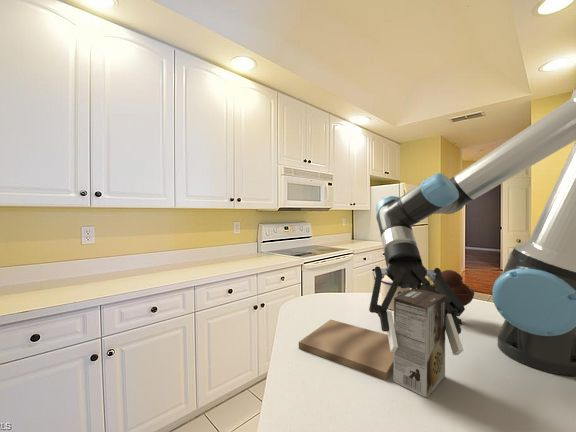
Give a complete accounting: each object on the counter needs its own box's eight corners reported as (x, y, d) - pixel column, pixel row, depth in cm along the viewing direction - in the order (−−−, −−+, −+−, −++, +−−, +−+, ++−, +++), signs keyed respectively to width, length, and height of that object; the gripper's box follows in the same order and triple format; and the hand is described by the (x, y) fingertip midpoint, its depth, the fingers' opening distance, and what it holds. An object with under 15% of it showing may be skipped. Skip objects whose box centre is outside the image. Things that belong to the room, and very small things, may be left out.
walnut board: (406, 346, 65) (406, 339, 65) (386, 380, 52) (386, 372, 52) (330, 324, 76) (330, 319, 76) (298, 348, 64) (298, 341, 63)
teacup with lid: (397, 313, 85) (397, 276, 84) (374, 304, 93) (374, 270, 92) (420, 306, 91) (421, 271, 91) (397, 298, 99) (397, 266, 98)
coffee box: (412, 363, 57) (413, 287, 57) (446, 377, 53) (447, 294, 52) (391, 381, 51) (392, 296, 51) (427, 399, 47) (429, 305, 46)
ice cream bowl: (481, 330, 73) (482, 275, 72) (436, 327, 75) (437, 272, 75) (464, 315, 83) (465, 266, 83) (424, 312, 85) (425, 265, 85)
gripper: (446, 260, 66) (484, 361, 50) (349, 258, 68) (358, 354, 53) (458, 241, 60) (505, 347, 45) (352, 239, 63) (363, 340, 47)
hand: (425, 351), depth 49 cm, fingers closed on coffee box, 10 cm apart
